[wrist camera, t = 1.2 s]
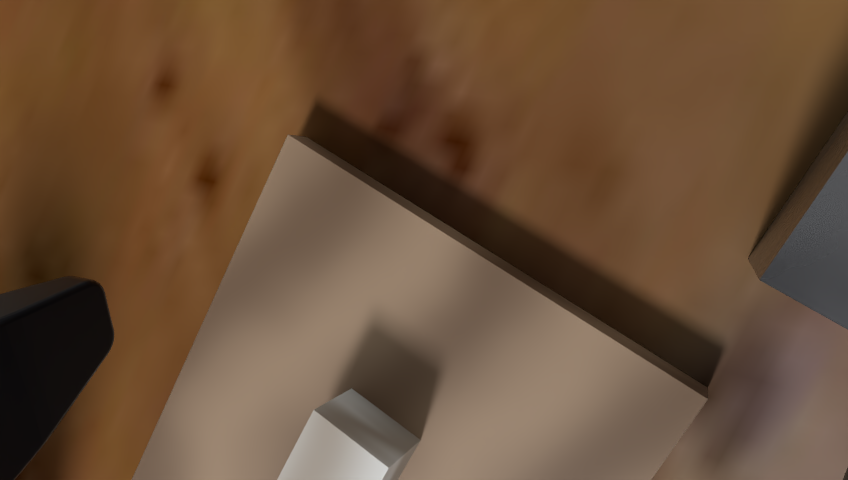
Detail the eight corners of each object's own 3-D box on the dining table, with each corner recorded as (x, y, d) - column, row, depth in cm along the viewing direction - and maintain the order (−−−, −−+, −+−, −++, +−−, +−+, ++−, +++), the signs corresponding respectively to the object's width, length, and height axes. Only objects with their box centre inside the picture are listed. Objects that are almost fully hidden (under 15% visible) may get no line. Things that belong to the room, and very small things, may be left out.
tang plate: (707, 387, 21) (707, 427, 17) (459, 743, 25) (419, 832, 21) (306, 137, 25) (243, 128, 22) (152, 470, 29) (79, 507, 26)
